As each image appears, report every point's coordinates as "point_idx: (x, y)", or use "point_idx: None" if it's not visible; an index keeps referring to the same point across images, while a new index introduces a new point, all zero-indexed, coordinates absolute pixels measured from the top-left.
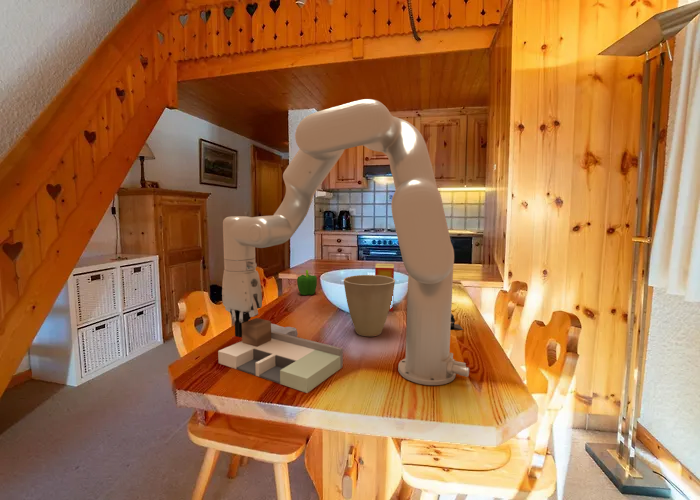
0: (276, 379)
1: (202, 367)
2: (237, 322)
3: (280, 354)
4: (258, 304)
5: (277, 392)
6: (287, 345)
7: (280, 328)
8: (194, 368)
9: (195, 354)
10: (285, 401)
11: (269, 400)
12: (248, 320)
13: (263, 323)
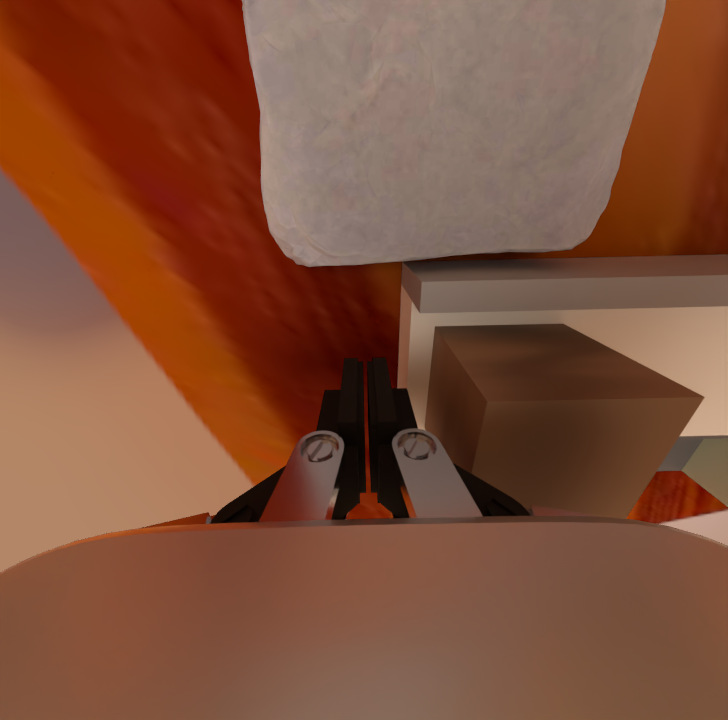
0: (662, 465)
1: (373, 504)
2: (365, 491)
3: (691, 426)
4: (679, 576)
5: (679, 492)
6: (703, 332)
7: (516, 53)
8: (358, 516)
9: (259, 470)
10: (715, 506)
11: (669, 518)
12: (396, 415)
13: (647, 469)
